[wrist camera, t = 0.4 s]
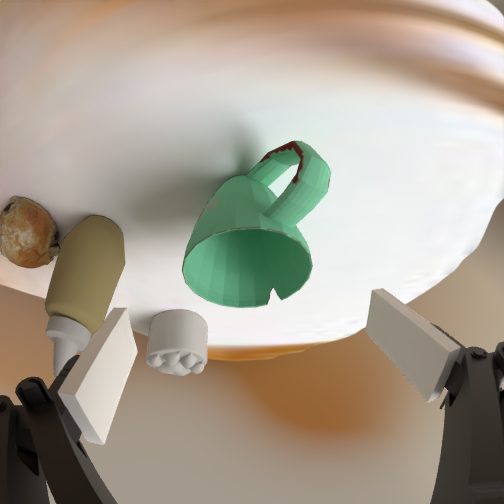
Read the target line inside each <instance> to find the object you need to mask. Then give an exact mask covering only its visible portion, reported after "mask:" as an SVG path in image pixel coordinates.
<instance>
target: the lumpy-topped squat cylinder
mask: <svg viewBox="0 0 504 504" xmlns="http://www.w3.org/2000/svg"><path fill="white" fill-rule="evenodd" d="M207 332H208V326H207V323H206V321H205V319H204V318H203V317H202V316H200V315H199V314H197V313H195V312H193V311H190V310H184V309H175V310H168V311H164V312H162V313H159V314H157V315H155V316H154V317H153V319H152V321H151V324H150V331H149V339H148V348H147V357H146V362H147V364H148V365H150V366H152V367H154V368H156V369H157V370H158V371H159V372H163V373H168V374H174V375H180V376H183V375H186V374H187V373H192V372H193V373H194V374H198V373H200V372H201V371H203V369H204V366H205V365H206V363H207Z"/></svg>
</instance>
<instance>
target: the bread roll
mask: <svg viewBox="0 0 504 504" xmlns="http://www.w3.org/2000/svg"><path fill="white" fill-rule="evenodd" d="M10 201H11V203H10V204H9V205H8V206H7V207H6V208H5V209H4V210H3V211H2V213H1V215H0V249H1V250H0V251H1V253H2V255H3V256H5V257H6V258H8V260H9V261H11V262H12V263H14V264H16V265H17V266H21V267H25V268H37V267H40V266H43V265H48V264H49V263H50V262H51V261H52V260H53V257H54V256H57V255H58V253H59V252H60V246H59V243H58V241H59V232H58V230H57V226H56V224H55V222H54V221H53V220H52V218H51V216H50V214H49V213H48V211H46V210H44V209H43V208H42V207H41V206H40V205H39V204H37V203H35V202H34V201H32V200H30V199H27V198H19V197H18V196H15V197H12V198H11V199H10Z"/></svg>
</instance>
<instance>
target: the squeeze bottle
mask: <svg viewBox="0 0 504 504" xmlns="http://www.w3.org/2000/svg"><path fill="white" fill-rule="evenodd" d="M124 266H125V252H124V238H123V232H122V231H121V229H120V228H119V226H118V225H117V224H115V223H114V222H113V221H112V220H110V219H108V218H105V217H103V216H90V217H87V218H86V219H84V220H83V221H82V222H81V223H80V224H79V225H77V226H76V227H75V228H74V229H73V230H72V231H71V232H70V233H69V234H68V235H67V236H66V237H65V238H64V240H63V243H62V246H61V249H60V252H59V255H58V258H57V261H56V264H55V268H54V271H53V274H52V278H51V281H50V285H49V289H48V293H47V297H46V301H45V309H46V311H47V313H48V315H49V316H50V319H49V322H48V325H47V328H46V335H47V336H48V337H49V338H50V339H51V340H52V341H53V342H54V376H55V377H57V376H59V373H60V371H61V370H63V367H64V365H65V364H66V362H67V361H68V360H69V359H71V358H72V357H73V356H75V355H76V353H77V351H81V352H83V351H84V349H85V348H86V346H87V345H88V343H89V342H90V338H91V334H93V333H96V332H97V330H98V329H99V328H100V326H101V325H102V323H103V322H104V319H105V316H106V313H107V310H108V307H109V305H110V302H111V299H112V296H113V294H114V291H115V288H116V286H117V283H118V281H119V278H120V276H121V273H122V271H123V268H124Z"/></svg>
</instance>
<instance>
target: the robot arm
mask: <svg viewBox="0 0 504 504" xmlns="http://www.w3.org/2000/svg"><path fill="white" fill-rule="evenodd" d="M365 332H366V334H367V335H368V336H369V337H370V338H371V339H372V340H373V341H374V342H375V343H376V345H377V346H378V347H379V348H380V349H381V350H382V351H383V352H384V353H385V354H386V356H387V357H388V358H389V359H390V360H391V361H392V362H393V363H394V365H395V366H396V367H397V368H398V369H399V370H400V371H401V372H402V374H403V375H404V376H405V377H406V378H407V379H408V380H409V381H410V383H411V384H412V385H413V386H414V387H415V388H416V390H417V391H418V392H419V393H420V394H421V395H422V396H423V398H424V399H425V400H426V401H427V402H430V401H432V400H434V399H436V398H438V397H440V395H441V393H442V391H443V389H444V387H445V388H446V389H447V390H448V392H447V394H446V396H445V399H444V400H443V402H442V404H441V406H440V409H442V407H443V406H444V405H445V420H444V431H443V440H442V449H441V455H440V462H439V467H438V473H437V478H436V483H435V487H434V492H433V495H432V499H431V503H430V504H504V390H503V389H502V388H501V386H502V384H503V382H504V342H500V343H499V344H498V345H497V347H496V350H495V352H493V353H487V352H486V351H485V350H484V349H482V348H479V347H469V348H465V347H464V346H463V345H462V344H460V343H459V342H458V341H457V340H455V339H454V338H453V337H451V336H449V334H447V333H446V332H444V331H443V330H442V329H441V328H440V327H438V326H436V325H434V324H432V323H429V322H428V321H427V320H425V319H424V318H423V317H421V316H420V315H418V314H417V313H416V312H415V311H413V310H412V309H411V308H409V307H408V306H406V305H405V304H404V303H402V302H401V301H400V300H398V299H397V298H396V297H394V296H393V295H391V294H390V293H389V292H387V291H386V290H384V289H376V290H372V294H371V301H370V308H369V314H368V320H367V325H366V331H365ZM136 355H137V348H136V344H135V341H134V337H133V333H132V328H131V324H130V320H129V316H128V311H127V308H113V309H112V311H111V312H110V314H109V315H108V316H107V318H106V319H105V321H104V322H103V323H102V325H101V326H100V328H99V329H98V330H97V332H96V333H95V335H94V336H93V338H92V339H91V341H90V342H89V343H88V345H87V346H86V348H85V349H84V351H83V353H82V354H81V355H75V356H73V357H72V358H71V359H69V360H68V361H67V362H66V364H65V365H64V367H63V370H61V371H60V373H59V376H57V377H56V379H55V380H54V382H53V383H52V385H51V386H50V388H49V389H47V387H46V385H45V383H44V382H43V380H42V379H41V378H39V377H29V378H26V379H24V380H22V381H21V382H20V383H19V384H18V385H17V387H16V391H15V393H16V395H17V396H18V398H19V400H20V401H21V403H22V405H14V404H13V403H12V401H11V400H10V398H9V397H7V396H4V395H0V504H50V502H49V497H48V491H47V485H46V481H47V483H48V486H49V488H50V490H51V493H52V495H53V497H54V500H55V502H56V504H117V502H116V501H115V499H114V498H113V496H112V495H111V493H110V492H109V490H108V489H107V487H106V486H105V484H104V482H103V481H102V479H101V478H100V476H99V474H98V473H97V471H96V469H95V467H94V466H93V464H92V462H91V460H90V458H89V456H88V455H87V453H86V451H85V449H84V447H83V445H82V443H81V442H80V441H79V438H80V436H81V433H82V434H83V435H84V437H85V438H86V440H87V441H88V442H92V443H97V444H102V445H104V444H105V441H106V438H107V435H108V432H109V429H110V426H111V423H112V420H113V417H114V414H115V411H116V408H117V405H118V402H119V400H120V397H121V394H122V391H123V388H124V386H125V383H126V380H127V378H128V375H129V373H130V370H131V367H132V365H133V362H134V359H135V357H136Z"/></svg>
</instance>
